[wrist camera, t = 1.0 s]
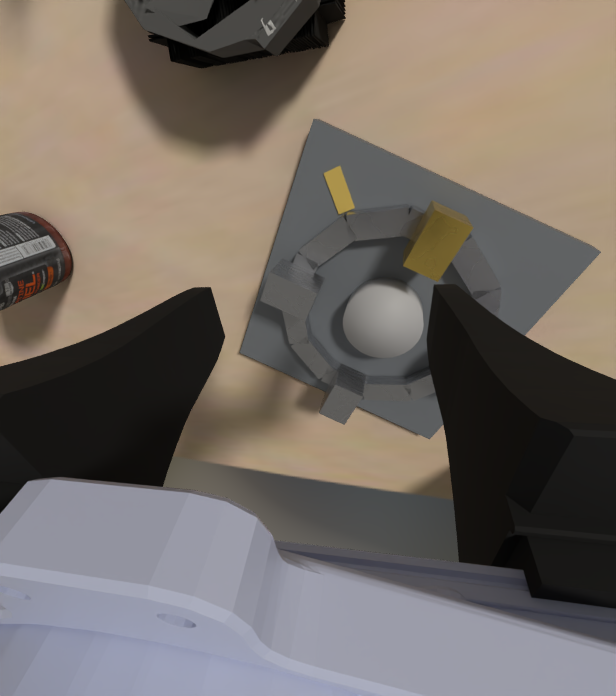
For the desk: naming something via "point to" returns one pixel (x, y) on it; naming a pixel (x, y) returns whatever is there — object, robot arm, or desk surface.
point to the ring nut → (419, 255)
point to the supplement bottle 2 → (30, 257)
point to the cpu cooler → (235, 27)
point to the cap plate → (398, 269)
